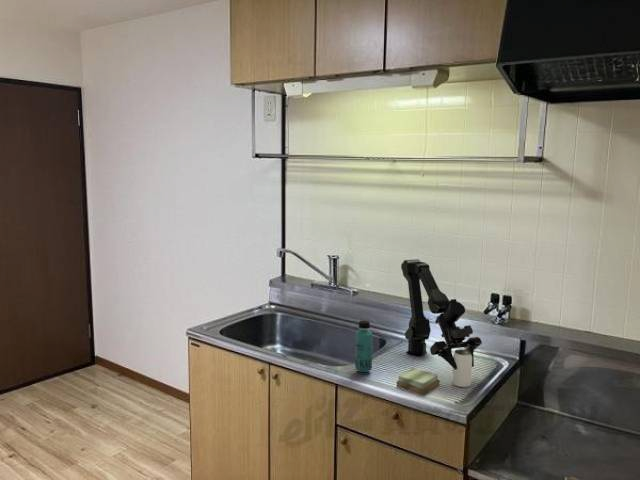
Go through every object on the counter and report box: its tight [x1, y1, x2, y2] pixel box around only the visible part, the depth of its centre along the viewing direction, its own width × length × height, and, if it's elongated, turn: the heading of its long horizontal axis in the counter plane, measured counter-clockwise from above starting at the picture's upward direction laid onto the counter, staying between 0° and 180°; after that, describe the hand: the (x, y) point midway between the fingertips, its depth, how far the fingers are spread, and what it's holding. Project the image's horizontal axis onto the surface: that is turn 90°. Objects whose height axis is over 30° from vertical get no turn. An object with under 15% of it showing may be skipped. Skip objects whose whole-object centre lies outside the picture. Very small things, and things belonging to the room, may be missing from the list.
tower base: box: [396, 367, 440, 396], centre depth 187 cm, size 11×11×4 cm
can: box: [452, 348, 473, 388], centre depth 187 cm, size 6×6×12 cm
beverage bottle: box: [354, 320, 373, 373], centre depth 198 cm, size 6×7×20 cm
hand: (464, 367), depth 186 cm, fingers closed on can, 6 cm apart
